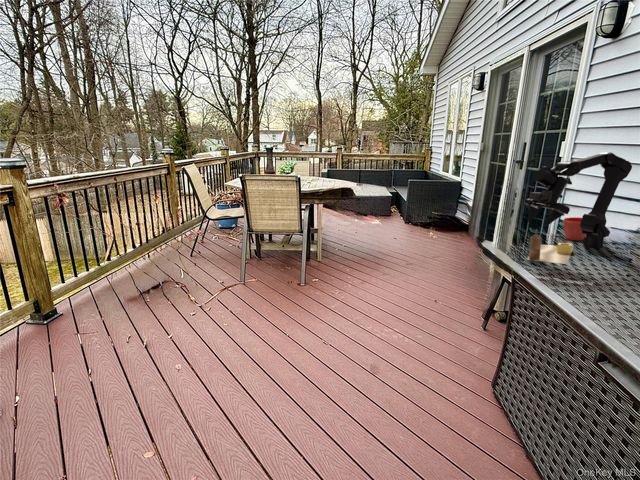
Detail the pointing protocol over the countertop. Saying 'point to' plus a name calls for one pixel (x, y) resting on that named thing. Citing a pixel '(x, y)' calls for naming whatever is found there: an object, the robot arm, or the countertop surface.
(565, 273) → the countertop surface
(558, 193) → the robot arm
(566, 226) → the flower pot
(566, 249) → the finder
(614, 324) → the countertop surface
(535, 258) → the awl
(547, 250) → the panel
